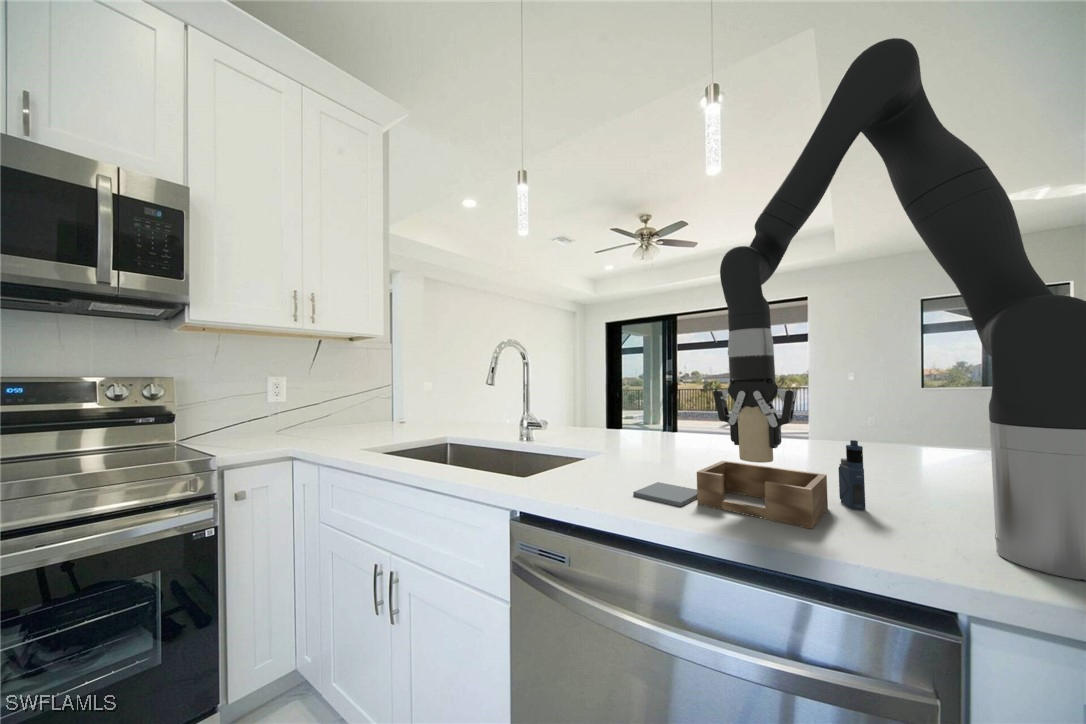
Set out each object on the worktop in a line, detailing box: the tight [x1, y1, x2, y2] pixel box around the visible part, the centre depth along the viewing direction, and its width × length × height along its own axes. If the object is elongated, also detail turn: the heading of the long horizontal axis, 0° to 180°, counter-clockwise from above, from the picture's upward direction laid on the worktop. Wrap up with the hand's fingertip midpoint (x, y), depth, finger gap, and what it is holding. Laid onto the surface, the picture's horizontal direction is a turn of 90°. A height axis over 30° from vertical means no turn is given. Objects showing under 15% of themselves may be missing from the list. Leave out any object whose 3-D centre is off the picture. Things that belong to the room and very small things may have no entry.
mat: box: [632, 481, 697, 507], centre depth 80 cm, size 10×10×1 cm
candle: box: [738, 406, 774, 464], centre depth 74 cm, size 6×6×10 cm
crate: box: [696, 460, 829, 530], centre depth 73 cm, size 18×13×6 cm
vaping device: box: [838, 439, 867, 511], centre depth 72 cm, size 3×5×12 cm, turn 166°
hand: (755, 445), depth 74 cm, fingers closed on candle, 5 cm apart
